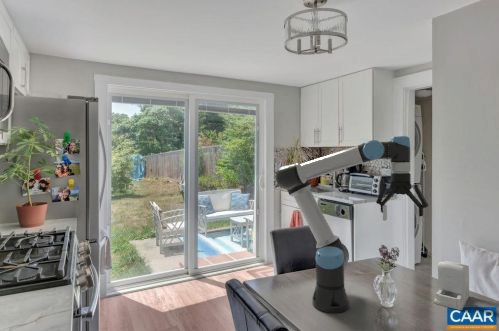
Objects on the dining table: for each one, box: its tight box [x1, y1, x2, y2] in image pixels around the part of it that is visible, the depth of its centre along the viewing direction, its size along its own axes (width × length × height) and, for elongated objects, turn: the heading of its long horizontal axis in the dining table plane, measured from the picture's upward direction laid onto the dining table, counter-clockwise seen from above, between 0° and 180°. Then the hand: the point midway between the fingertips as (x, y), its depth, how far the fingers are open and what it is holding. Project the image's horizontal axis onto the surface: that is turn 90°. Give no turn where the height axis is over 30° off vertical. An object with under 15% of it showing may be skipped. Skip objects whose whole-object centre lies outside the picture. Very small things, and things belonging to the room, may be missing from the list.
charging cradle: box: [433, 259, 470, 311], centre depth 134 cm, size 10×18×14 cm, turn 136°
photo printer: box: [437, 261, 466, 295], centre depth 133 cm, size 10×4×12 cm, turn 39°
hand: (401, 222), depth 132 cm, fingers open, 13 cm apart
